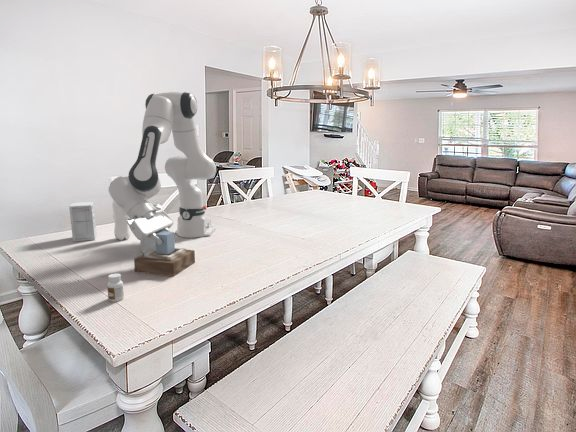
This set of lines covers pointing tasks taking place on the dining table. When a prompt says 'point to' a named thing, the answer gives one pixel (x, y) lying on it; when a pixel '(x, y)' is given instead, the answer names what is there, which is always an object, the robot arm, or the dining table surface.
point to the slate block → (165, 242)
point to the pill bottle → (115, 288)
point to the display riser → (165, 262)
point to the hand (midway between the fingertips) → (166, 241)
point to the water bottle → (120, 222)
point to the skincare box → (147, 245)
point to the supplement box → (83, 221)
